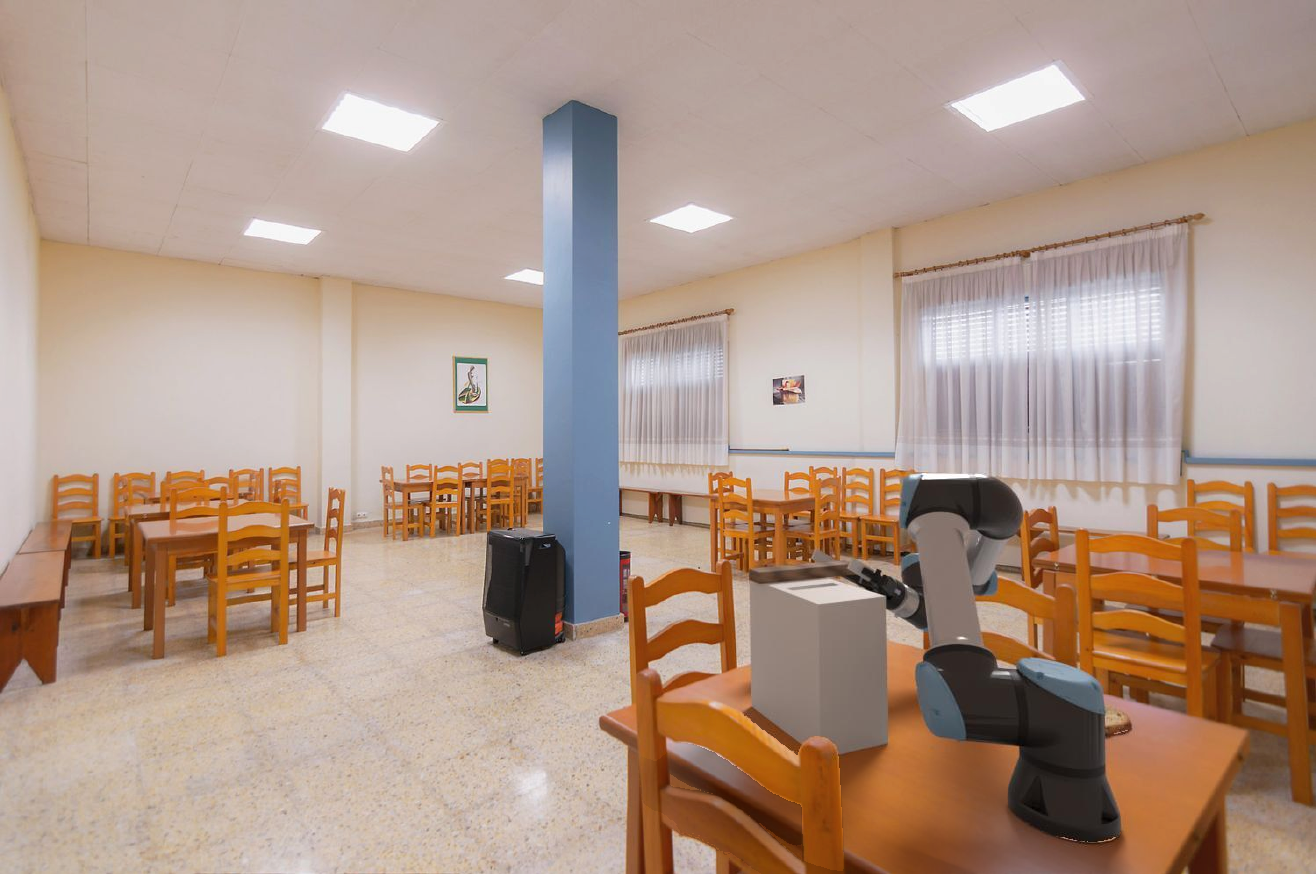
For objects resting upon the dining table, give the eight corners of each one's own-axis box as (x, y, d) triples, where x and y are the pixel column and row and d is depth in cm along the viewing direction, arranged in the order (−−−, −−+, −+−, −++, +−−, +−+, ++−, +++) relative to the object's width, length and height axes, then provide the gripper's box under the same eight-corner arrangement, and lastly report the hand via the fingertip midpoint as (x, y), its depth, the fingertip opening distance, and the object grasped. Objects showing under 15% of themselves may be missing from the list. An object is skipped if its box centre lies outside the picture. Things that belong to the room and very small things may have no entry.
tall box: (810, 695, 149) (808, 572, 149) (888, 743, 124) (885, 596, 125) (751, 706, 143) (749, 578, 143) (820, 758, 119) (818, 604, 119)
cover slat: (844, 570, 151) (844, 560, 151) (857, 574, 146) (857, 563, 146) (749, 580, 141) (749, 568, 141) (759, 584, 137) (759, 572, 137)
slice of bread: (1134, 721, 134) (1134, 703, 134) (1122, 752, 121) (1122, 732, 121) (1038, 699, 146) (1038, 682, 146) (1018, 724, 133) (1017, 707, 133)
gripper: (927, 623, 141) (860, 583, 134) (854, 598, 164) (794, 563, 158) (940, 593, 143) (874, 551, 136) (865, 572, 166) (806, 536, 159)
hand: (831, 558), depth 147 cm, fingers open, 13 cm apart
